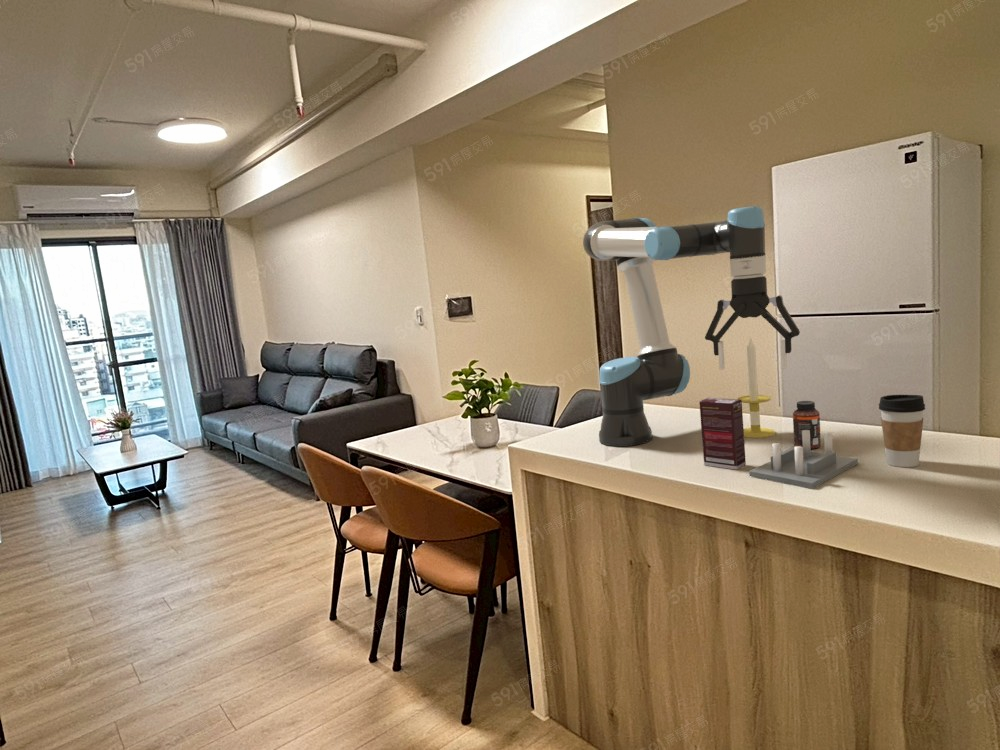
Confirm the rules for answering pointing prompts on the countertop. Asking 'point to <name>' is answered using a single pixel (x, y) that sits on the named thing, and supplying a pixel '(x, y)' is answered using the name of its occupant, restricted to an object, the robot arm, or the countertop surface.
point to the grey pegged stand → (804, 464)
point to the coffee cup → (902, 428)
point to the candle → (754, 398)
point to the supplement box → (722, 432)
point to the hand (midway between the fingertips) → (752, 368)
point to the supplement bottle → (806, 423)
